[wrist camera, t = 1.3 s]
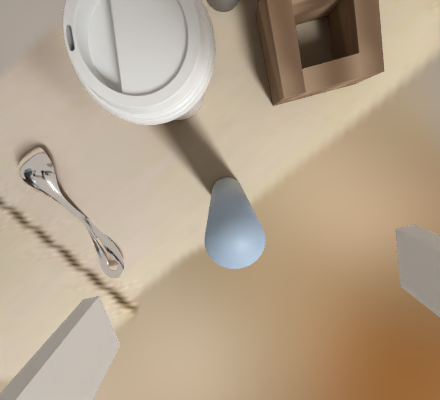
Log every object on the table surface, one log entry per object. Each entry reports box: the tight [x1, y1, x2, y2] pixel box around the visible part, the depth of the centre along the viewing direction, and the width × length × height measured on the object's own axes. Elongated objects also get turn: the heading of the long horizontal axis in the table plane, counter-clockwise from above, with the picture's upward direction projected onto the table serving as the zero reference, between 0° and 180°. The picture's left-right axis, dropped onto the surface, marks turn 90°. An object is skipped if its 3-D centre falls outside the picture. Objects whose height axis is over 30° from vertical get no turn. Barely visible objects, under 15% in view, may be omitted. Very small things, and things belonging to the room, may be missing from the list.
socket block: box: [256, 0, 384, 106], centre depth 25 cm, size 10×10×5 cm
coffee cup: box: [63, 0, 216, 125], centre depth 21 cm, size 10×10×15 cm
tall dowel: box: [205, 177, 265, 269], centre depth 23 cm, size 4×4×16 cm
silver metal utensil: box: [18, 147, 125, 278], centre depth 30 cm, size 20×4×5 cm
